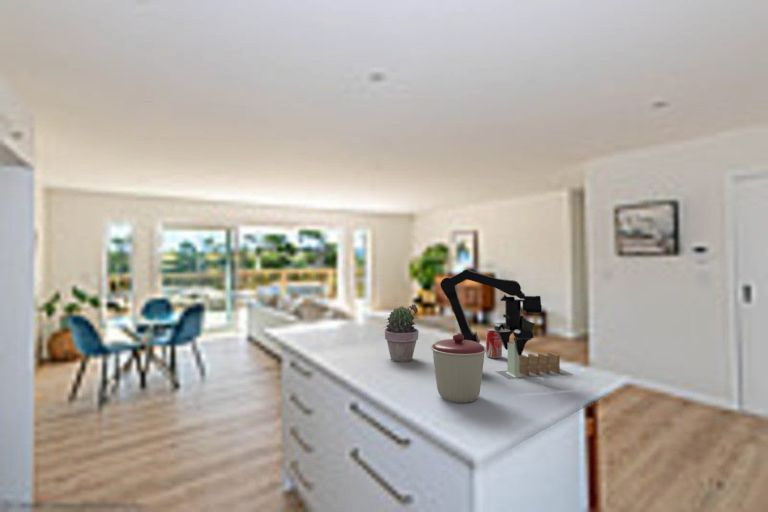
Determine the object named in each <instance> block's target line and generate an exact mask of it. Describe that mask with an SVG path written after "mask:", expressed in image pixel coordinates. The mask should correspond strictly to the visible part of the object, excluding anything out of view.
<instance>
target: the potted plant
mask: <svg viewBox="0 0 768 512" xmlns="http://www.w3.org/2000/svg"><path fill="white" fill-rule="evenodd" d="M412 311H413V313H414V314H413V313H412ZM418 311H419V308H418V307H417V305H416V304H415V303H414V304H411V305H410V306H409V307H404V306H399V307H398V308H397V307H394V308H393V311H390V314H389V315H388V314H387V315H385V316H389V317H387V318H386V320H387V321H386V322H385V323H386V325H385V326H384V327H383V329H384V328H385V330H384V339H385V340H386V342H387V343H386V344H387V348H388V353H389V356H390V360H392V361H394V362H402V363H403V362H405V361H406V362H410V361H412V360H413V357H414V352H415V349H416V343H417V341H418V340H419V330H418V329H417V328H415V326H414V325H416V322H415V321H414V320H415V319H416V320H417V319H418V317H416V316H415V314H418ZM387 323H388V324H387ZM379 329H380V327H379ZM379 329H378V330H379ZM406 362H405V363H406Z"/></svg>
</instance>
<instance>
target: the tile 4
mask: <svg viewBox="0 0 768 512" xmlns="http://www.w3.org/2000/svg"><path fill="white" fill-rule="evenodd" d="M537 356H539V367H540V371H541V372H543V373H545V374H550V356H548V354H545V353H542V352H538V353H537Z"/></svg>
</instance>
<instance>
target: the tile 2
mask: <svg viewBox="0 0 768 512" xmlns="http://www.w3.org/2000/svg"><path fill="white" fill-rule="evenodd" d="M519 373H521V374H523V375H525V376H528V375H529V357H528V355H525V354H523V353H522V355H519Z"/></svg>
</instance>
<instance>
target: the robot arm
mask: <svg viewBox="0 0 768 512" xmlns="http://www.w3.org/2000/svg"><path fill="white" fill-rule="evenodd" d="M467 280H469V281H471V282H475V283H478V284H482V285H485V286H489V287H492V288H494V289H498V290H499V291H501V292H502V293H505V294H504V295H503V296H502V297H501V298H500V301H501V302H504V303H505V304H504V306H505V307H504V308H505V309H504V310H505V312H504V313H503V314H502V316H503V318H504V319H505V322H497V323H495V325H494V328H495V330H497V331H496V332H497V333H498V335H499V337H500V339H501V341H502V346H503V347H504V349H505V350H507V351H508V342H510V338H511V335H512V334H513V341H514V342H513V343H515V345H516V349H517V353H518V355H522V354H523V352H524V349H525V346H526V344H527V343H528V341H531V340H532V339H534V337H535V336H534V333H535V332H534V328H535V326H536V325H535V324H536V323H535V322H531V321H529V320H527V319H526V318H525V317H524V315H521V314H522V311H524V312H525V314H542V312H543V311H542V310H543V308H542V307H543V306H542V300H541V295H526V294H525V292H523V291H522V287H521V284H520V283H519V282H518V281H517V280H513V279H503V278H497V277H493V276H489V275H486V274H482V273H479V272H475V271H472V270H470V269H464V270H462V271H461V272H458V273H457V274H456V275H453V276H452V277H449V276H448V277H444V278H443V279H442V280H441V282H440V284H439V285H440V288H441V290H442V292H443V293H444V295H445V297H446V298H447V299H448V300H449V303H450V306H451V308H452V311H453V314H454V316H455V319H456V321H457V324H458V326H459V330H460V334H462V335H463V336H464V339H463V340H470V341H475V342H478V343H480V344H481V339H480V338H479V335H478V332H477V331H473V330H472V328H471V327H470V326H471V325H470V323H469V321H468V318H467V316H466V313H465V311H464V308H463V305H462V302H461V300H460V297H459V291H458V286H457V285H459V284H461V283H463V282H465V281H467ZM506 294H507V295H509V296H507V295H506ZM515 297H517V298H518V299H516V298H515ZM521 304H522V307H521ZM521 309H522V311H521Z"/></svg>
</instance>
